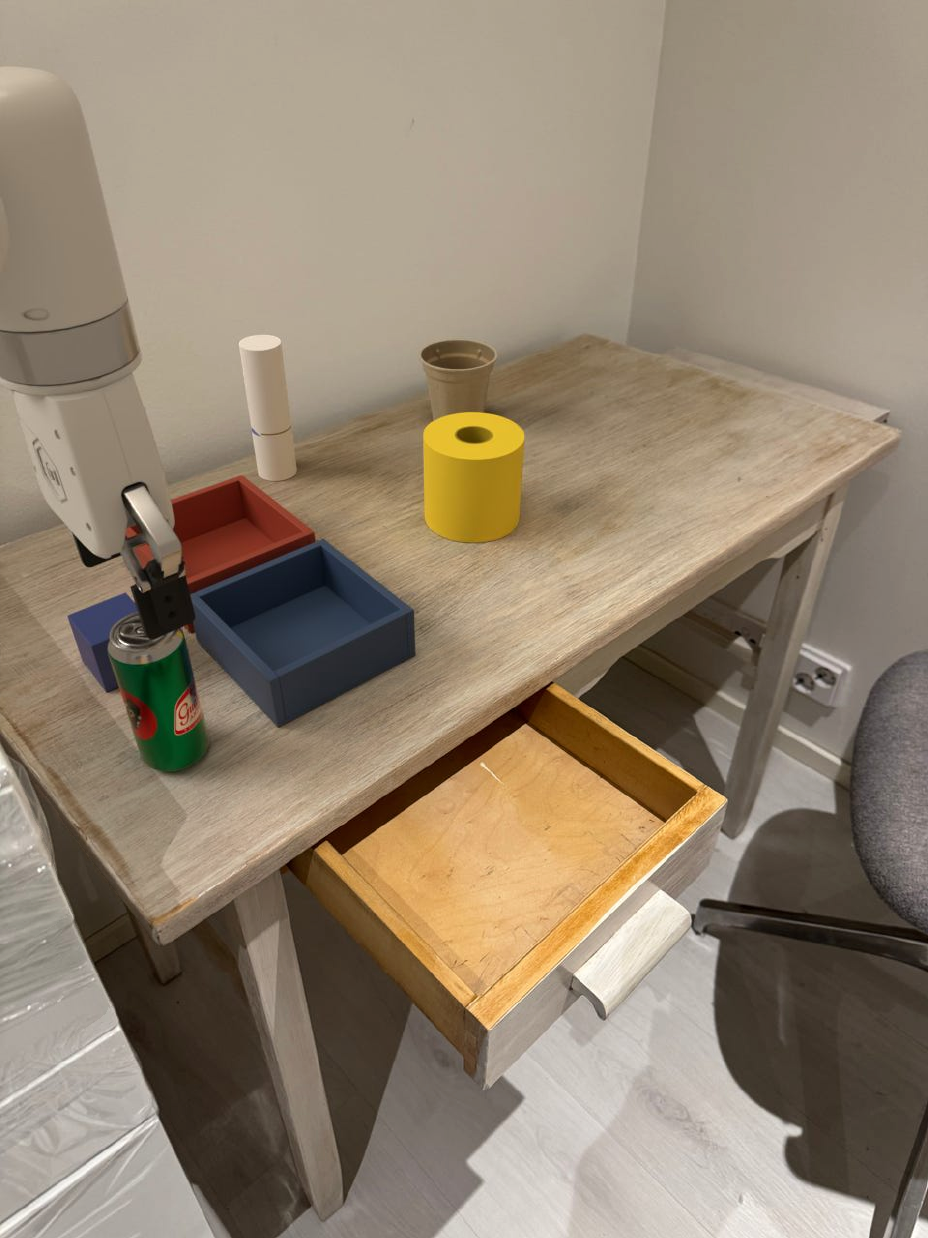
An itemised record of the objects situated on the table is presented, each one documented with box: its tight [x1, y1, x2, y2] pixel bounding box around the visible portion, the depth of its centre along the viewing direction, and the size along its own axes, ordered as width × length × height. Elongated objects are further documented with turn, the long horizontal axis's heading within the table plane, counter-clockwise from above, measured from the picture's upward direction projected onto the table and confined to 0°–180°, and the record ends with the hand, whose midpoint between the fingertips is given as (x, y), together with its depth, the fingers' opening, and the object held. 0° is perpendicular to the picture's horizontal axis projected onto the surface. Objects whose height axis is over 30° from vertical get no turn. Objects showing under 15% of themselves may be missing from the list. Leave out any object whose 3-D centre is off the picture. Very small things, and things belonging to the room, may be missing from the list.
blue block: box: [67, 592, 138, 693], centre depth 74 cm, size 5×5×5 cm
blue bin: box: [190, 538, 416, 728], centre depth 76 cm, size 14×14×5 cm
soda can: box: [107, 612, 210, 773], centre depth 64 cm, size 5×5×12 cm
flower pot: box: [418, 338, 499, 421], centre depth 109 cm, size 9×9×9 cm
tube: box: [238, 334, 298, 482], centre depth 96 cm, size 4×4×15 cm
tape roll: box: [422, 412, 525, 544], centre depth 91 cm, size 10×10×9 cm
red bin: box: [126, 474, 317, 633], centre depth 85 cm, size 14×14×5 cm
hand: (137, 591), depth 59 cm, fingers open, 9 cm apart
